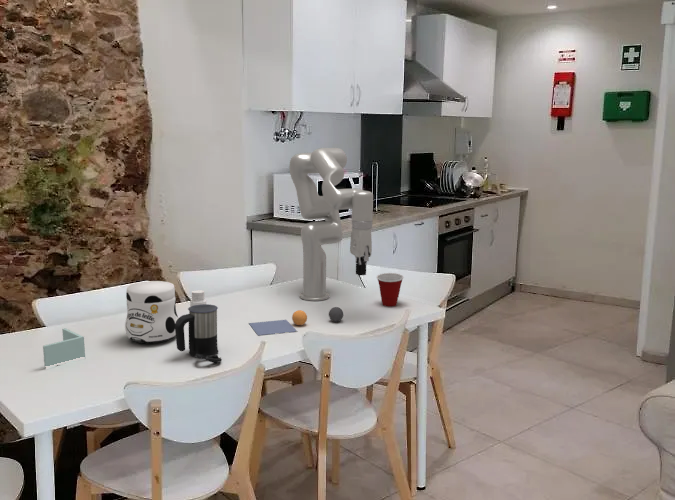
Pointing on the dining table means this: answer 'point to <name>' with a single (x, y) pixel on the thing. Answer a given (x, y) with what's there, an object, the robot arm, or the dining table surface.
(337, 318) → the gray ball
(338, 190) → the robot arm
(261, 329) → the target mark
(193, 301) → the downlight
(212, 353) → the milk frother
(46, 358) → the right angle wall
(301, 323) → the orange ball
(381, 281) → the plastic cup
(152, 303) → the milk container
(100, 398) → the dining table surface
